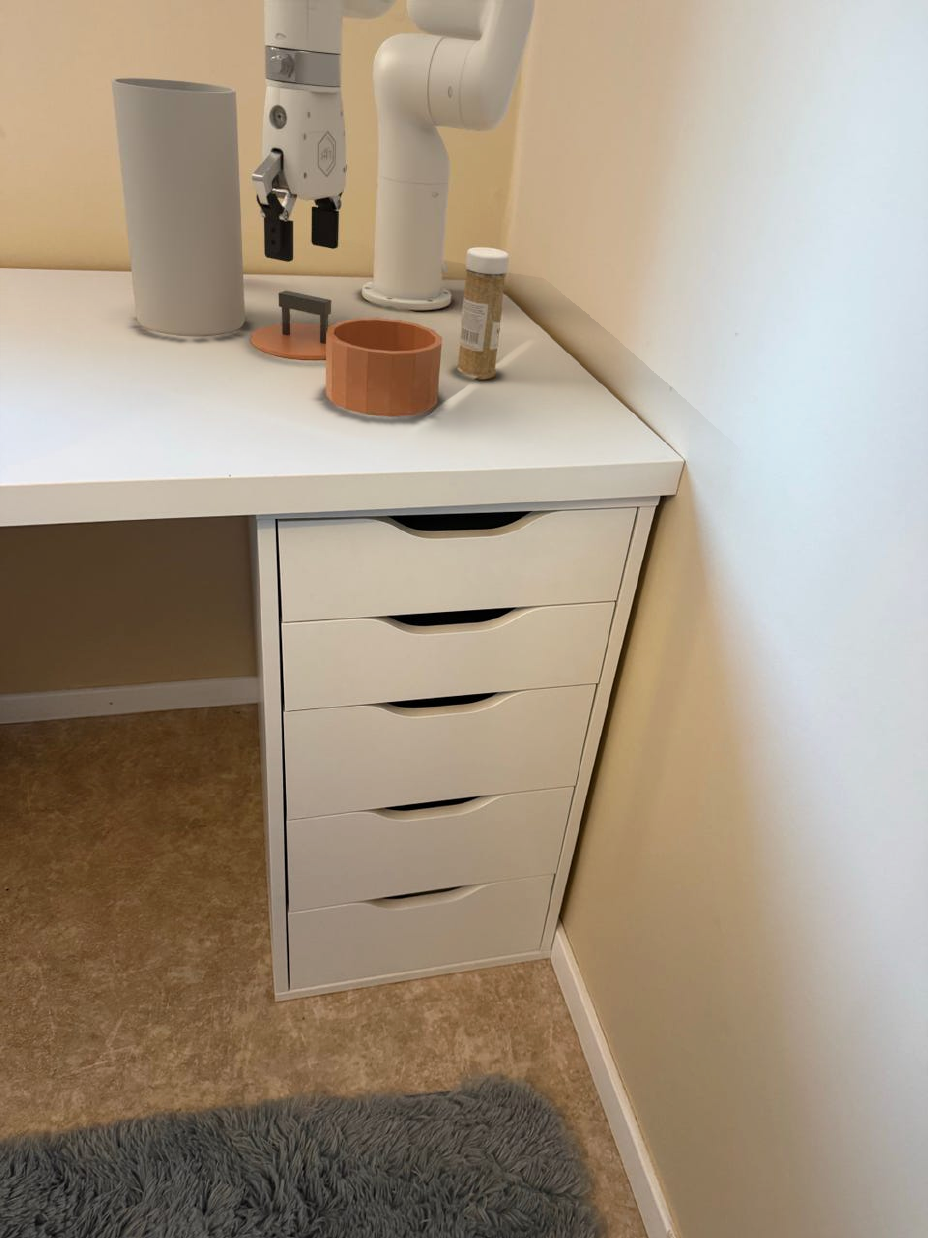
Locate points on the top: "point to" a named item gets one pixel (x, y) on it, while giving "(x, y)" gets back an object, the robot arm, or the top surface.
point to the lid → (296, 329)
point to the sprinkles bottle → (482, 311)
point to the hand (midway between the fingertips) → (302, 252)
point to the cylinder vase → (181, 203)
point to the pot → (382, 366)
